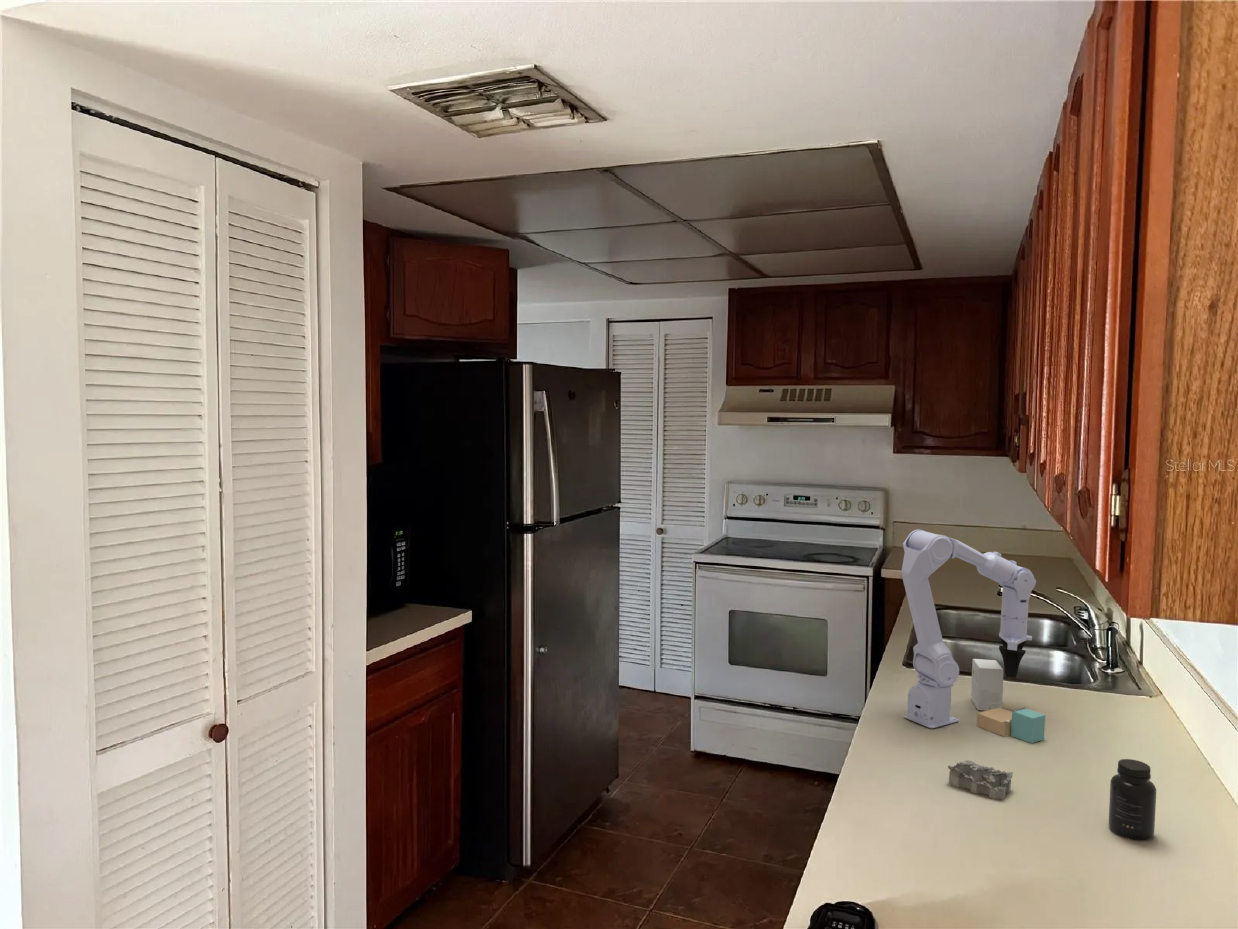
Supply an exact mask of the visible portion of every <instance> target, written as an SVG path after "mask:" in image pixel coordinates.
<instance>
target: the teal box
mask: <svg viewBox="0 0 1238 929" xmlns="http://www.w3.org/2000/svg"><path fill="white" fill-rule="evenodd" d="M1011 712H1012V723H1011V735H1010V736H1012V737H1014V738H1017V739H1018V740H1021V741H1024V742H1026V743H1027V742H1028V743H1031V744H1034V743H1037V742H1039V741H1044V740H1045V729H1046V728H1045V727H1046V714H1043V713H1041V712H1038V711H1035V710H1032V709H1030V708H1027V707H1025V706H1024V707H1020V708H1016V709H1014V710H1012V711H1011Z"/></svg>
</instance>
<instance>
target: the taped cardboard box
mask: <svg viewBox="0 0 1238 929" xmlns="http://www.w3.org/2000/svg"><path fill="white" fill-rule="evenodd" d="M1011 723H1012V711H1011V710H1008V709H1005V708H1003V707H1002V708H1000V707H999V708H995V709H991V710H988V711H981V712H977V714H976V727H978V728H980V729H983V730H985V731H989V732H991V733H993V734H996V735H999V736H1000V737H1007V736H1008V737H1009V736H1011Z"/></svg>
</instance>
